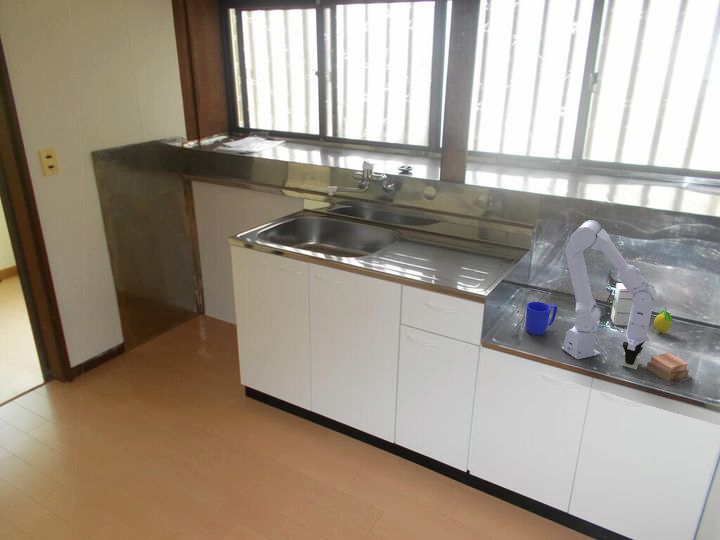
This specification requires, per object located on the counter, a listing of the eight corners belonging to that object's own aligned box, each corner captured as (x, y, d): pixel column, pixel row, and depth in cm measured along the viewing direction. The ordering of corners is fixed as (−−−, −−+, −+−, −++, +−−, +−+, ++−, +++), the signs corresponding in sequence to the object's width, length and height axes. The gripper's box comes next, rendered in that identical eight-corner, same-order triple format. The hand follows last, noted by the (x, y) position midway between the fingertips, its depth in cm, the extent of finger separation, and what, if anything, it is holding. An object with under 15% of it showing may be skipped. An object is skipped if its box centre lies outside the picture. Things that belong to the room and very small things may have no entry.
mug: (561, 332, 197) (565, 307, 193) (533, 339, 193) (536, 313, 189) (545, 323, 204) (549, 298, 200) (518, 328, 200) (521, 303, 196)
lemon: (668, 339, 193) (674, 313, 189) (649, 334, 196) (655, 309, 192) (671, 332, 198) (677, 306, 194) (653, 327, 201) (659, 302, 197)
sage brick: (636, 369, 175) (638, 358, 173) (621, 365, 177) (623, 354, 176) (638, 363, 178) (641, 352, 177) (623, 359, 180) (625, 348, 179)
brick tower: (667, 385, 166) (671, 371, 164) (640, 369, 175) (644, 355, 173) (691, 379, 170) (695, 365, 168) (664, 363, 178) (667, 349, 176)
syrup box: (630, 326, 202) (637, 289, 196) (612, 324, 203) (619, 288, 197) (626, 319, 207) (633, 283, 202) (609, 317, 208) (616, 282, 203)
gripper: (649, 335, 164) (640, 374, 169) (656, 316, 176) (648, 354, 181) (623, 328, 168) (616, 367, 173) (632, 311, 179) (624, 348, 184)
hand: (630, 360), depth 177 cm, fingers closed on sage brick, 4 cm apart
